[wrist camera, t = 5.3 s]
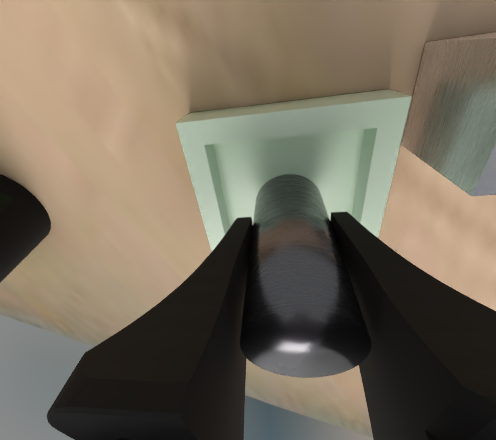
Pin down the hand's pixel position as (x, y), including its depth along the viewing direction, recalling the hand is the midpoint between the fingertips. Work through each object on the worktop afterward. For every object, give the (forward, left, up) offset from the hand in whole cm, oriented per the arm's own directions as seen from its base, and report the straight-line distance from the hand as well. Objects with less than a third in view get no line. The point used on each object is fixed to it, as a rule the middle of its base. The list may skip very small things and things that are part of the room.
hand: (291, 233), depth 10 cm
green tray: (0, 0, -4) cm, 4 cm away
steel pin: (0, 0, -2) cm, 2 cm away
